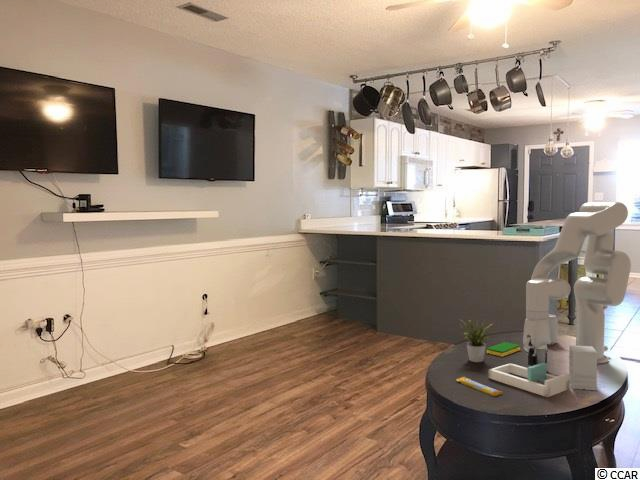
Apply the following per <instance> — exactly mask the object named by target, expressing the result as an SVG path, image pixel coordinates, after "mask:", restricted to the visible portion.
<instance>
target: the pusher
mask: <svg viewBox="0 0 640 480" xmlns="http://www.w3.org/2000/svg"><path fill="white" fill-rule="evenodd" d="M527 368H528V378H527V380H530V381H533V382H536V383H539V384H543V385H545V380H546V373H547V363H540V364H537V365H534V366H531V367H530V366H528V367H527Z"/></svg>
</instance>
